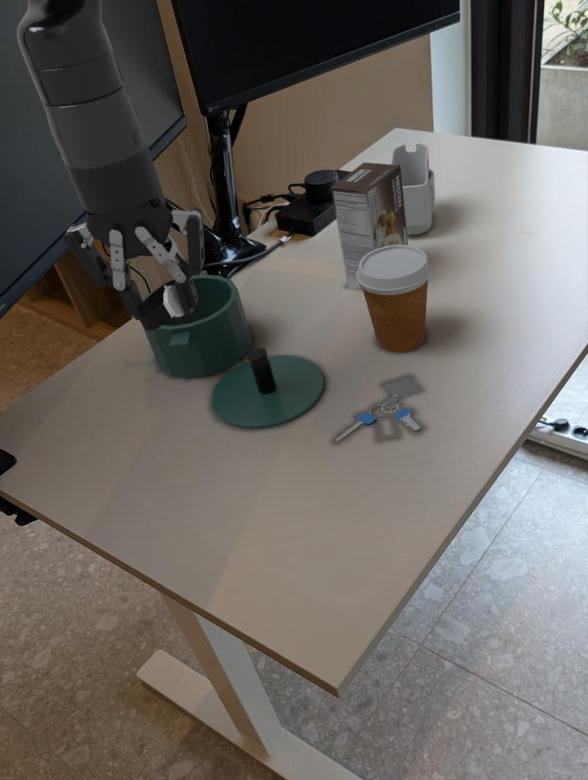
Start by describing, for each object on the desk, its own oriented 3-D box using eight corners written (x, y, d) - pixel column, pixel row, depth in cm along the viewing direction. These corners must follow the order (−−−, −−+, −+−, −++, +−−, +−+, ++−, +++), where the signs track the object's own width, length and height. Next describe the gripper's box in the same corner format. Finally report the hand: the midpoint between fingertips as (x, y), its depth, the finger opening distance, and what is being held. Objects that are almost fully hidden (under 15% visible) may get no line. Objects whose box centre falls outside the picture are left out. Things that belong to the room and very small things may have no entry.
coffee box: (376, 262, 110) (364, 160, 99) (411, 268, 107) (402, 164, 96) (346, 290, 105) (329, 186, 94) (382, 297, 102) (368, 191, 91)
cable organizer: (396, 246, 113) (388, 173, 105) (399, 213, 122) (393, 143, 113) (436, 243, 112) (432, 168, 104) (437, 210, 121) (433, 139, 112)
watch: (171, 336, 70) (160, 305, 68) (131, 335, 71) (118, 304, 69) (200, 296, 75) (190, 266, 73) (162, 296, 77) (151, 266, 74)
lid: (207, 439, 84) (191, 397, 79) (220, 369, 94) (206, 328, 90) (324, 424, 83) (315, 381, 78) (324, 355, 94) (316, 313, 89)
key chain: (396, 377, 88) (395, 371, 87) (453, 393, 84) (452, 387, 83) (334, 443, 80) (333, 438, 80) (394, 464, 76) (393, 459, 76)
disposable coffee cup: (354, 341, 95) (340, 262, 86) (409, 315, 98) (402, 235, 89) (392, 372, 89) (382, 289, 80) (450, 343, 92) (446, 260, 83)
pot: (148, 399, 92) (124, 346, 86) (170, 323, 105) (151, 273, 99) (246, 386, 91) (229, 332, 85) (256, 311, 104) (242, 260, 98)
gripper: (188, 123, 63) (234, 287, 75) (41, 143, 64) (109, 303, 76) (174, 152, 58) (226, 324, 70) (13, 174, 59) (92, 340, 71)
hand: (165, 312), depth 73 cm, fingers closed on watch, 5 cm apart
